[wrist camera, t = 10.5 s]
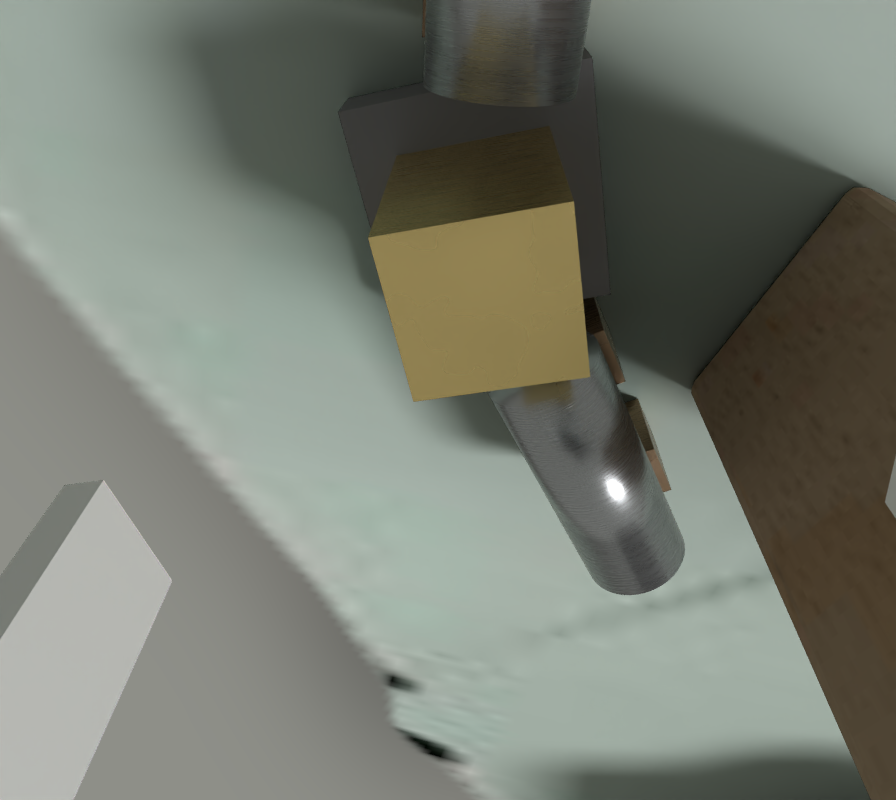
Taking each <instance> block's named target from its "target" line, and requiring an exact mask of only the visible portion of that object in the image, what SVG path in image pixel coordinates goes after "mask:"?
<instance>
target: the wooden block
mask: <svg viewBox="0 0 896 800" xmlns="http://www.w3.org/2000/svg"><path fill="white" fill-rule="evenodd" d="M691 393H692V395H693V398H694V400H695V402H696V405H697V407H698V409H699V411H700V414H701V416H702V418H703V420H704V423H705V425H706V427H707V429H708V432H709V434H710V436H711V439H712V441H713V443H714V445H715V448H716V450H717V452H718V454H719V457H720V459H721V461H722V463H723V466H724V468H725V470H726V473H727V475H728V477H729V479H730V482H731V484H732V486H733V488H734V491H735V493H736V495H737V497H738V500H739V502H740V504H741V507H742V509H743V511H744V513H745V516H746V518H747V520H748V522H749V525H750V527H751V529H752V531H753V534H754V536H755V538H756V541H757V543H758V545H759V547H760V550H761V552H762V554H763V556H764V559H765V561H766V563H767V565H768V568H769V570H770V572H771V575H772V577H773V579H774V581H775V584H776V586H777V588H778V590H779V593H780V595H781V597H782V599H783V602H784V604H785V606H786V609H787V611H788V613H789V615H790V618H791V620H792V622H793V624H794V627H795V629H796V631H797V633H798V636H799V638H800V640H801V643H802V645H803V647H804V649H805V652H806V654H807V656H808V658H809V661H810V663H811V665H812V667H813V670H814V672H815V674H816V677H817V679H818V681H819V683H820V686H821V688H822V690H823V692H824V695H825V697H826V699H827V701H828V704H829V706H830V708H831V711H832V713H833V715H834V717H835V720H836V722H837V724H838V726H839V729H840V731H841V733H842V735H843V738H844V740H845V742H846V745H847V747H848V749H849V751H850V754H851V756H852V758H853V760H854V763H855V765H856V767H857V769H858V772H859V774H860V776H861V779H862V781H863V783H864V785H865V788H866V790H867V792H868V794H869V797H870V799H871V800H896V518H895V517H894V515H893V514H892V512H891V511H890V509H889V508H888V506H887V505H886V503H885V500H886V495H887V491H888V487H889V483H890V478H891V474H892V470H893V465H894V461H895V457H896V202H894V201H892V200H890V199H888V198H886V197H884V196H883V195H881V194H879V193H877V192H875V191H873V190H871V189H869V188H856V187H853V188H852V189H851V190H849V191H848V192H847V193H845V195H844V196H843V197H842V198H841V200H840V201H839V202H838V203H837V205H836V206H835V207H834V208H833V210H832V211H831V212H830V213H829V215H828V216H827V217H826V218H825V220H824V221H823V222H822V223H821V224H820V226H819V227H818V228H817V229H816V231H815V232H814V233H813V234H812V236H811V237H810V238H809V239H808V241H807V242H806V243H805V244H804V246H803V247H802V248H801V249H800V251H799V252H798V253H797V254H796V256H795V257H794V258H793V259H792V261H791V262H790V263H789V264H788V266H787V267H786V268H785V269H784V271H783V272H782V273H781V274H780V276H779V277H778V278H777V279H776V281H775V282H774V283H773V284H772V286H771V287H770V288H769V289H768V291H767V292H766V293H765V294H764V296H763V297H762V298H761V299H760V301H759V302H758V303H757V304H756V306H755V307H754V308H753V309H752V311H751V312H750V313H749V314H748V315H747V317H746V318H745V319H744V320H743V322H742V323H741V324H740V325H739V327H738V328H737V329H736V330H735V332H734V333H733V334H732V335H731V337H730V338H729V339H728V340H727V342H726V343H725V344H724V345H723V347H722V348H721V349H720V350H719V352H718V353H717V354H716V355H715V357H714V358H713V359H712V360H711V362H710V363H709V364H708V365H707V367H706V368H705V369H704V370H703V372H702V373H701V374H700V375H699V377H698V378H697V379H696V380H695V382H694V384H693V386H692V391H691Z"/></svg>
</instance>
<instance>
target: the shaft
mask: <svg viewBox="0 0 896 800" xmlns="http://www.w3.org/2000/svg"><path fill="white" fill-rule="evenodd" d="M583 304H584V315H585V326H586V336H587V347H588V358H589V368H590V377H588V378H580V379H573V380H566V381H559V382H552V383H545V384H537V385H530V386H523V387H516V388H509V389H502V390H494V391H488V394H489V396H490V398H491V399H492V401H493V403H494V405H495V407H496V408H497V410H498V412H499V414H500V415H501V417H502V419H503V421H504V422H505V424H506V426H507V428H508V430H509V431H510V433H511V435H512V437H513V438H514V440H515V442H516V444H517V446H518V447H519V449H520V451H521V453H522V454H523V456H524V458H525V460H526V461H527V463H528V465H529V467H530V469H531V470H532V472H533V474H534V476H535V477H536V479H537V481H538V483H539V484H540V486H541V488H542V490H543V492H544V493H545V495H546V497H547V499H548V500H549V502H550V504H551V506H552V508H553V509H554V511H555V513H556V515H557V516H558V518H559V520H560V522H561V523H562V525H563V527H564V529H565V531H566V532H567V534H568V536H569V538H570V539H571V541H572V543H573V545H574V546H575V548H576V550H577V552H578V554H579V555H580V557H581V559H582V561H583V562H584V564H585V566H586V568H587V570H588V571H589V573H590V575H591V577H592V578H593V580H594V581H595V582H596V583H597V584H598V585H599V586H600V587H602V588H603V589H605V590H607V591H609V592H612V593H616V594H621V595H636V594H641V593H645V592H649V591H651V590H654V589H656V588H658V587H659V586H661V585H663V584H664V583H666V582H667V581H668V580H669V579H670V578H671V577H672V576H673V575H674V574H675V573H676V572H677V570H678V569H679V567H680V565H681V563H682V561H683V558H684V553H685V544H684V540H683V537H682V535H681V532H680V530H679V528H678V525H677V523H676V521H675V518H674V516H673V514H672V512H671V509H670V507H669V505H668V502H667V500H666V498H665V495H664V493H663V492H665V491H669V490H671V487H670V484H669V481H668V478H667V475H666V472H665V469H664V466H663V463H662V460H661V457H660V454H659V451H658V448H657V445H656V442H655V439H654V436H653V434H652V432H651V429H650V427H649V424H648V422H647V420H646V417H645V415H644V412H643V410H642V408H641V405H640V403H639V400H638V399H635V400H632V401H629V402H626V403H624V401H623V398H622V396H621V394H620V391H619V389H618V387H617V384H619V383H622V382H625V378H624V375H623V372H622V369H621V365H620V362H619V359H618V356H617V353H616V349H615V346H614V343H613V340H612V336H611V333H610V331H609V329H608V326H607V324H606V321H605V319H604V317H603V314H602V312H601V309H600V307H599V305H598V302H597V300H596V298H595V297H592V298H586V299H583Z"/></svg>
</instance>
